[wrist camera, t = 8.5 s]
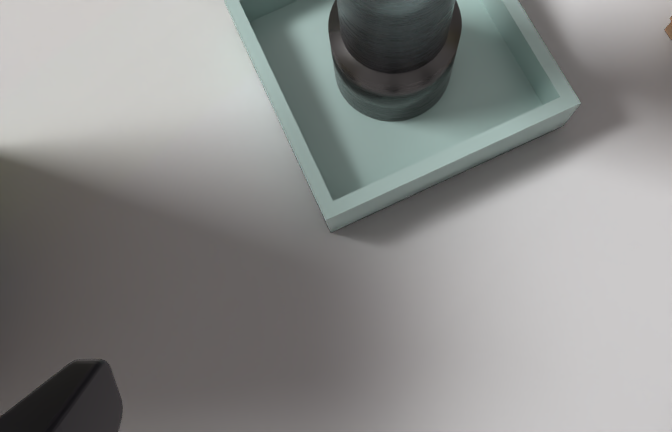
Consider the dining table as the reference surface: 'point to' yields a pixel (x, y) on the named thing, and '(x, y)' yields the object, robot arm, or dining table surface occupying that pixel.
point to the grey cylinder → (393, 54)
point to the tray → (408, 135)
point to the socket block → (669, 29)
